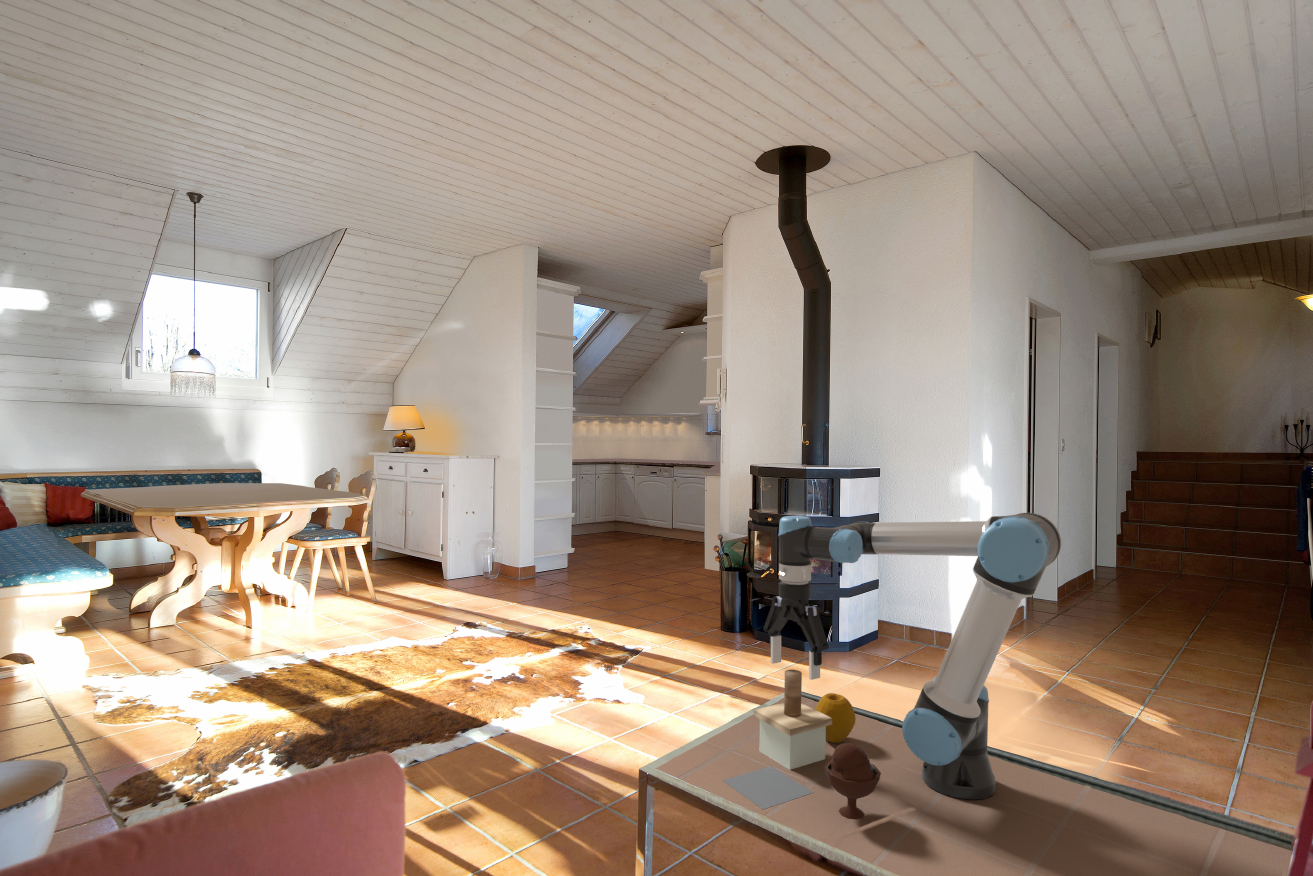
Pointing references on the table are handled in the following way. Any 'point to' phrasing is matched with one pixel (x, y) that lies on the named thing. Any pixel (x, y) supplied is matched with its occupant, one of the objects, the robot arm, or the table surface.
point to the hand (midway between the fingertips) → (794, 670)
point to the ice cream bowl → (851, 777)
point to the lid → (792, 710)
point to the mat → (767, 787)
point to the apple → (837, 716)
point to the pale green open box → (792, 746)
